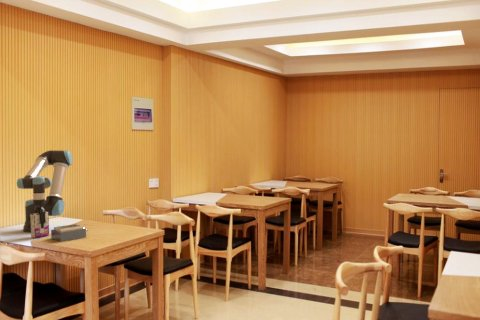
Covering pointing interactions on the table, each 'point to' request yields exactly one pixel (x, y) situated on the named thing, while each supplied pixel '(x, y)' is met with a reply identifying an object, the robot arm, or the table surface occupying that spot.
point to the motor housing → (68, 232)
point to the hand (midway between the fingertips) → (40, 232)
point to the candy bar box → (36, 226)
